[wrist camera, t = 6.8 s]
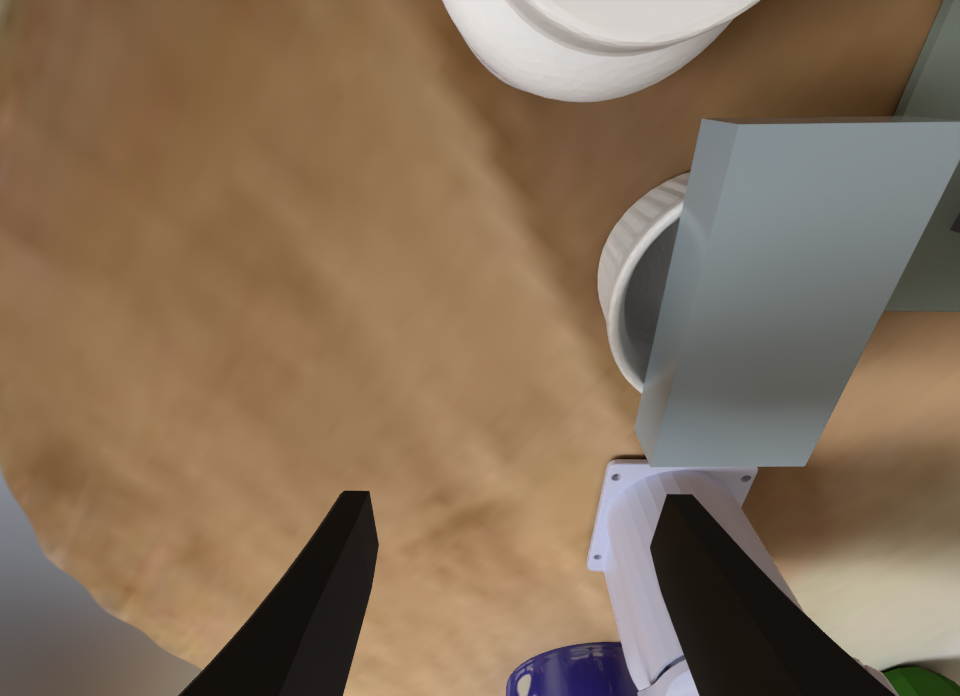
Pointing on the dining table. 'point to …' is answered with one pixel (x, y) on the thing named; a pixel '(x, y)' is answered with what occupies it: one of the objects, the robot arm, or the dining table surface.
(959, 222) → the dark grey rectangular block
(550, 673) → the dog bowl
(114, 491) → the dining table surface
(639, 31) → the pill bottle
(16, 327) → the dining table surface
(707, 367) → the tile
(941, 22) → the mat
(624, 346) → the ramekin
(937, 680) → the bell pepper
